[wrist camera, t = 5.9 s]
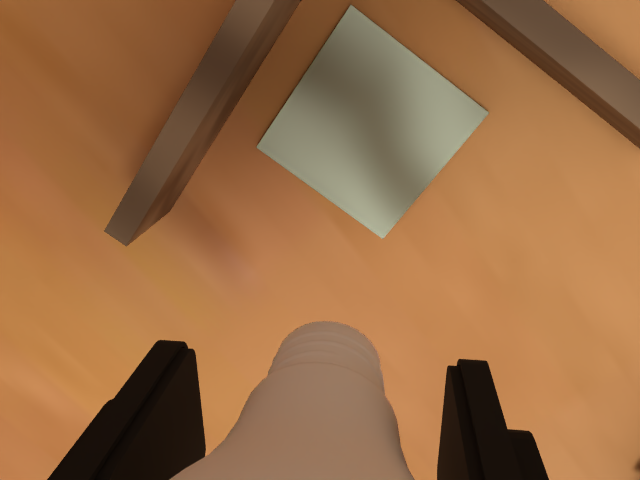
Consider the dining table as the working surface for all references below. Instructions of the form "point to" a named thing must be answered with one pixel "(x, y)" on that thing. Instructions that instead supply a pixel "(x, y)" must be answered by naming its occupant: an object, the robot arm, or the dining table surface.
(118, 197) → the dining table surface
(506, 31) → the corner fence
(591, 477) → the dining table surface
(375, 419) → the lightbulb
